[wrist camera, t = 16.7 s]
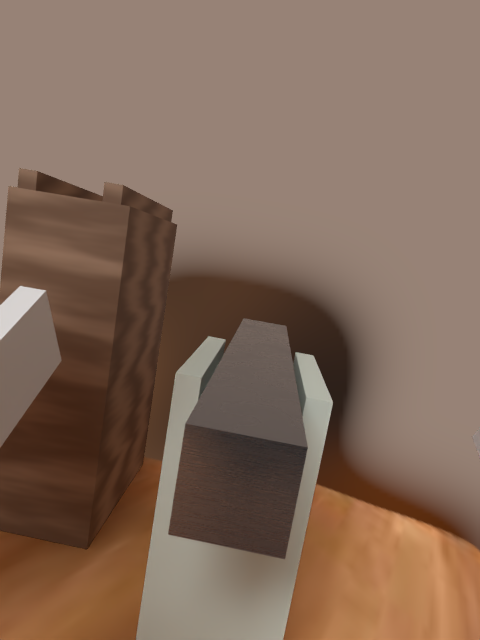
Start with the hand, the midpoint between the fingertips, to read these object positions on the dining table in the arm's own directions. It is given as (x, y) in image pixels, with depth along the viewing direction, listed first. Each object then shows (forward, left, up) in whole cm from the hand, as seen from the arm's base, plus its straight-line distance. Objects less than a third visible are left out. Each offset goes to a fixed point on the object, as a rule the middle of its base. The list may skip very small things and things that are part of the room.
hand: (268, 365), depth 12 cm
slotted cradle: (-9, +15, -25) cm, 30 cm away
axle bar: (-7, +12, -7) cm, 15 cm away
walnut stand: (-29, +17, -25) cm, 42 cm away
